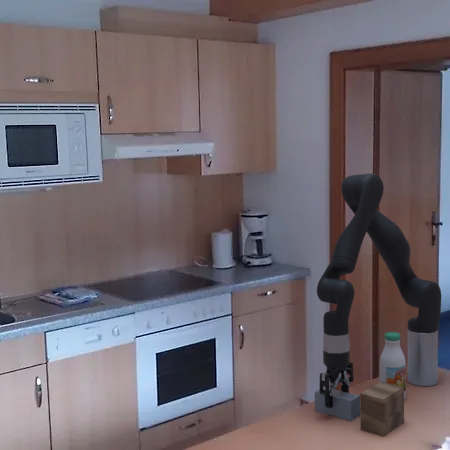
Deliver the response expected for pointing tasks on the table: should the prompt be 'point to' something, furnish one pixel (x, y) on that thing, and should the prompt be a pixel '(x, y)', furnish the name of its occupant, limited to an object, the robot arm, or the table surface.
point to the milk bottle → (393, 362)
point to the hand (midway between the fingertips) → (337, 402)
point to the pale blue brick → (339, 405)
